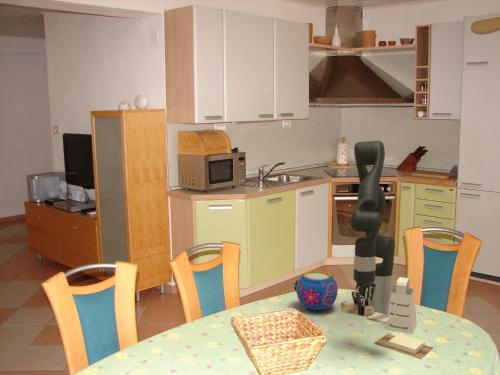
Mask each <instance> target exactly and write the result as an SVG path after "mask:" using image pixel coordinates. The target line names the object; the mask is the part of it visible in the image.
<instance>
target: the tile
mask: <svg viewBox="0 0 500 375" xmlns="http://www.w3.org/2000/svg"><path fill="white" fill-rule="evenodd" d="M394 336H395V337H394V338H392V339H391V340H389V341H388V346H390V347H393V348H396V349H399V350H402V351H405V352H408V353H411V354H414V355H415V354H416V353H417V352H418V351H420V350H421V349H422V348H423V347H424V345H426V344H425V341H423V340H421V339H417V338H414V337H410V336H408V335H403V334H401V333H398V334H396V335H394Z"/></svg>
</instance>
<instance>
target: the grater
mask: <svg viewBox="0 0 500 375" xmlns="http://www.w3.org/2000/svg"><path fill="white" fill-rule="evenodd" d="M390 312H391V313H390ZM388 315H391V316H394V318H393V319H392V320H390V321H389V322H387V323H386V324H385V328H384V329H385V330H388V331H392V332H393V331H394V332H399V333H405V334H409V335H410V334H411V335H413V334H414V332H415V330H416V326H417V325H418V324H417V323H418V322H417V311H416V297H415V288H411V287H410V278H408V277H403V276H402V277H401V276H400V277H398V279H397V281H396V285H394V287H392V292H391V297H390V303H389V309H388ZM395 326H396V327H395Z"/></svg>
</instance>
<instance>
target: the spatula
mask: <svg viewBox="0 0 500 375" xmlns="http://www.w3.org/2000/svg"><path fill="white" fill-rule="evenodd" d="M364 306H365V305H364ZM340 309H341V311H340V312H342V313H346V314H352V315H354V316H360V315H358V305H355V304H354V302H350V301H342V302H340ZM394 316H395V315H394ZM394 316H391V315H386V314H382V313H377V312H375V313H374V307H370V306H365V308H364V316H363V318H366V320H367V321H368V320H369V321H373V322H376V323H381V324H385V325H386V323H387V322H389V321H390V320H392V319H393V318H394ZM360 317H361V316H360Z"/></svg>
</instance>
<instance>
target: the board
mask: <svg viewBox="0 0 500 375" xmlns="http://www.w3.org/2000/svg"><path fill="white" fill-rule="evenodd" d="M395 336H396V335H395V334H394V335H393V334H390V333H386V334H385V335H383V336H382V337H381V338H379V339H378V340H376V341H375V342H374V343H373V344H374V345H375V346H379V347H382V348H384V349H385V348H386V349H389V350H392V351H395V352H398V353H401V354H403V355H407V356H410V357H413V358H415V359H419V360H422V359H423V358H424V357H425V356H426V355H427V354H429V353H430V352H431V351H432V350H434V347H432V346H429V345H426V344H424V347H423V348H422V349H421V350H420V351H418V352H417V353H416V354H415V355H414V354H411V353H408V352H405V351H402V350H399V349H396V348H393V347H390V346H388V341H389V340H391V339H392V338H394V337H395Z"/></svg>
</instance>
